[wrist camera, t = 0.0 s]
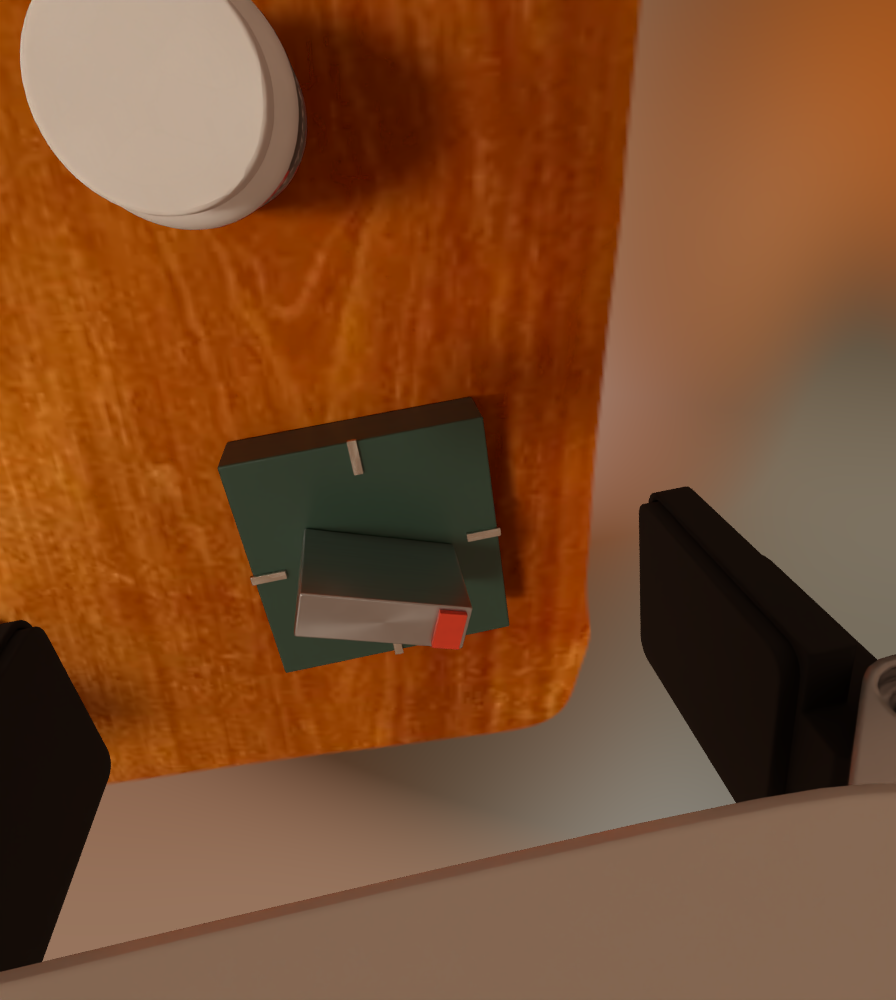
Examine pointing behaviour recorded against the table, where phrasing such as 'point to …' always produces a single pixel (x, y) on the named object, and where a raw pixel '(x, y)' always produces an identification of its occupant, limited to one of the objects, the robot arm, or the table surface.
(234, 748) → the table surface
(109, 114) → the pill bottle
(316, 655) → the panel
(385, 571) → the tap handle
